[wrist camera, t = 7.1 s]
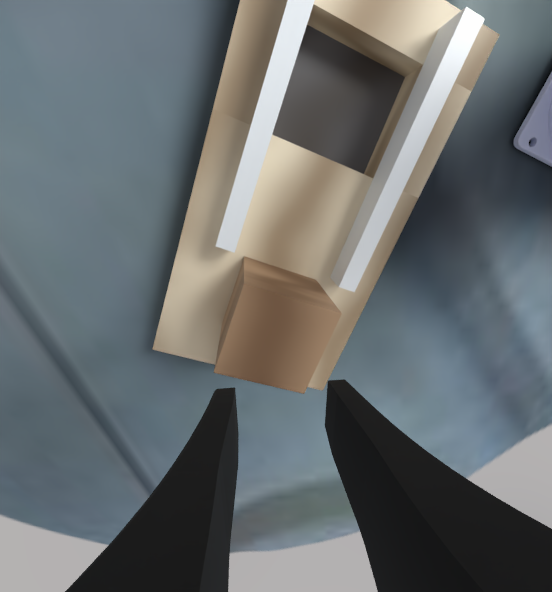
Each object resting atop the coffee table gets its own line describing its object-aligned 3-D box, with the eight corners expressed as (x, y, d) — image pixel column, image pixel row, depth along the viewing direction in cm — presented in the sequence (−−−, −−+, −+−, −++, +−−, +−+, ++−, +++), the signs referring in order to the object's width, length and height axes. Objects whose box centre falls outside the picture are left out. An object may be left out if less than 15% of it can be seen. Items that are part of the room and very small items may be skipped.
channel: (455, 38, 14) (484, 18, 12) (344, 282, 18) (354, 292, 16) (304, -52, 12) (314, -90, 10) (218, 240, 16) (215, 246, 14)
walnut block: (316, 279, 17) (341, 313, 13) (289, 342, 19) (304, 393, 14) (244, 256, 17) (243, 283, 12) (221, 324, 18) (213, 372, 13)
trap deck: (469, 52, 16) (499, 34, 14) (316, 373, 22) (322, 390, 21) (264, -69, 13) (267, -111, 11) (161, 334, 20) (152, 349, 18)
